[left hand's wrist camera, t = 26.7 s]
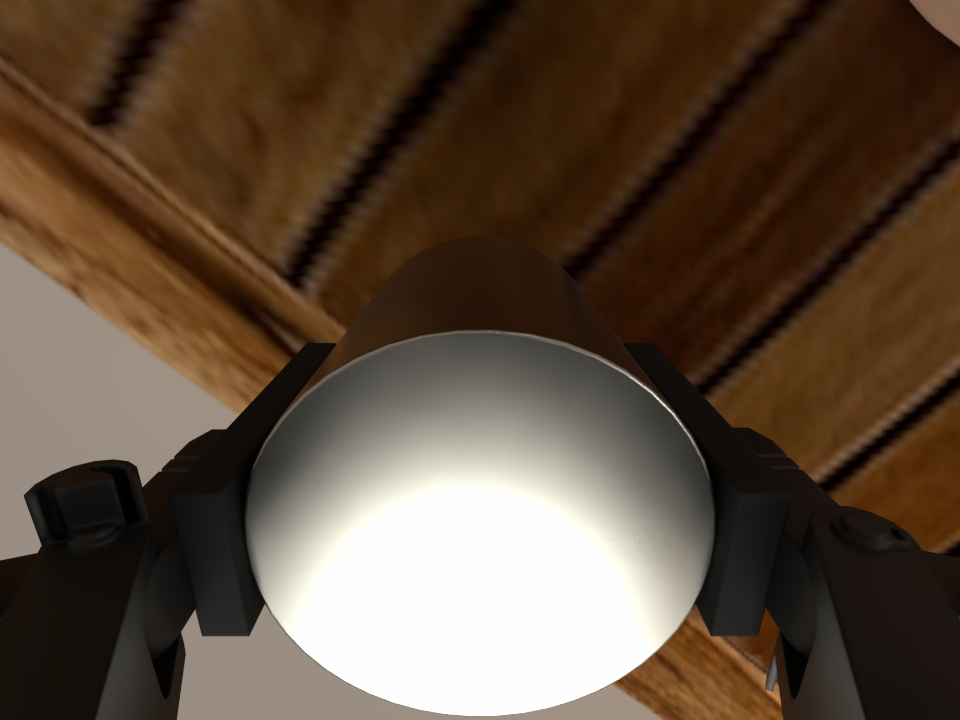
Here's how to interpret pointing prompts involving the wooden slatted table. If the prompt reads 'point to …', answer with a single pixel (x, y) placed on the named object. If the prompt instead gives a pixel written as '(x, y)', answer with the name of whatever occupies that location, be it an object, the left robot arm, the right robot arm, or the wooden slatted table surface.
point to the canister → (480, 494)
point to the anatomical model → (942, 16)
